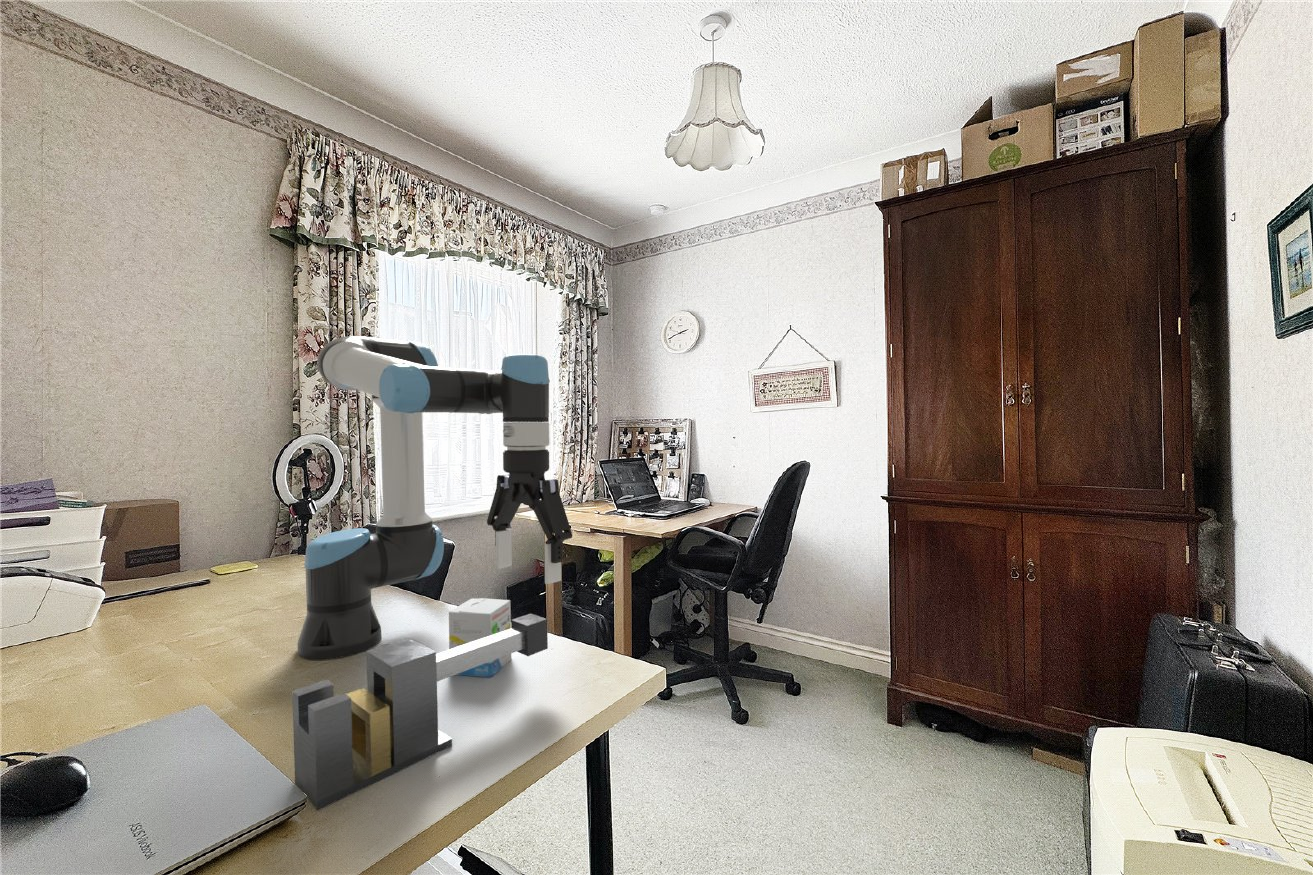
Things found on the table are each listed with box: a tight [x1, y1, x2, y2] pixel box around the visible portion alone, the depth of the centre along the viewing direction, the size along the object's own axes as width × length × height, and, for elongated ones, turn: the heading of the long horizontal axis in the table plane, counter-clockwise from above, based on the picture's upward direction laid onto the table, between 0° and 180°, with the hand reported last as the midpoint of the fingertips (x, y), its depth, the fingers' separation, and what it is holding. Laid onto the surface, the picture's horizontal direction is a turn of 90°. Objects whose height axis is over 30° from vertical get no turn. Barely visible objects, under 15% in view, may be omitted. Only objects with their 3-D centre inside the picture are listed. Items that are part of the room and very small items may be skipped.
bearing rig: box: [291, 637, 453, 811], centre depth 74 cm, size 8×17×14 cm, turn 139°
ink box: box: [448, 597, 512, 678], centre depth 104 cm, size 8×8×12 cm
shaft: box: [436, 613, 549, 682], centre depth 85 cm, size 4×24×5 cm, turn 139°
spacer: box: [345, 687, 391, 776], centre depth 73 cm, size 8×2×8 cm, turn 50°
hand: (527, 574), depth 93 cm, fingers open, 13 cm apart
